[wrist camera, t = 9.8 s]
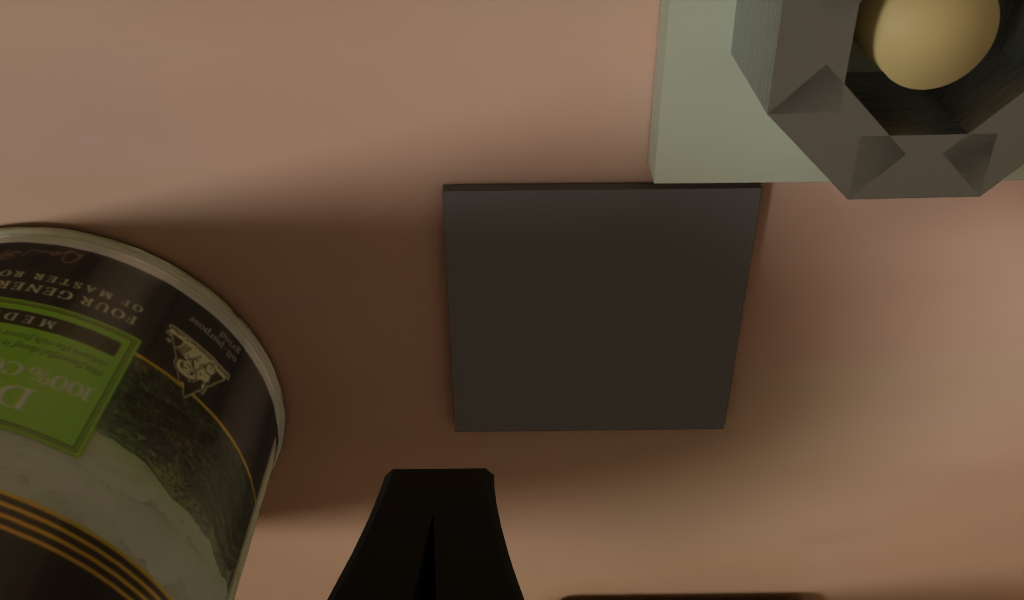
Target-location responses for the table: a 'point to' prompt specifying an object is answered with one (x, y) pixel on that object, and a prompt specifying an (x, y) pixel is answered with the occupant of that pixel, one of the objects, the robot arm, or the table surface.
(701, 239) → the mat
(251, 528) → the coffee can
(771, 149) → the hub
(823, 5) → the ring
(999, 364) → the table surface
